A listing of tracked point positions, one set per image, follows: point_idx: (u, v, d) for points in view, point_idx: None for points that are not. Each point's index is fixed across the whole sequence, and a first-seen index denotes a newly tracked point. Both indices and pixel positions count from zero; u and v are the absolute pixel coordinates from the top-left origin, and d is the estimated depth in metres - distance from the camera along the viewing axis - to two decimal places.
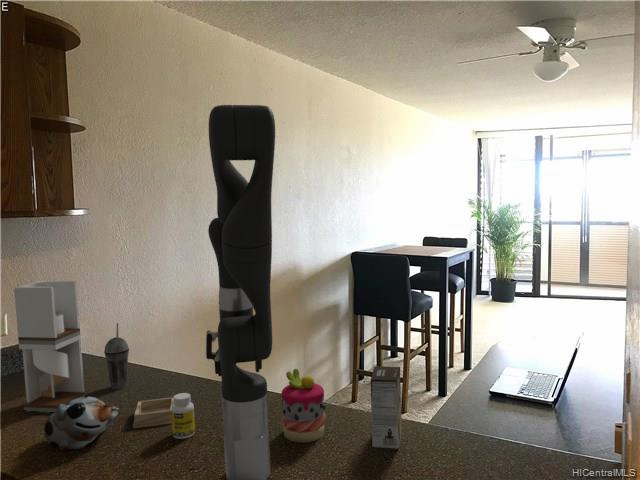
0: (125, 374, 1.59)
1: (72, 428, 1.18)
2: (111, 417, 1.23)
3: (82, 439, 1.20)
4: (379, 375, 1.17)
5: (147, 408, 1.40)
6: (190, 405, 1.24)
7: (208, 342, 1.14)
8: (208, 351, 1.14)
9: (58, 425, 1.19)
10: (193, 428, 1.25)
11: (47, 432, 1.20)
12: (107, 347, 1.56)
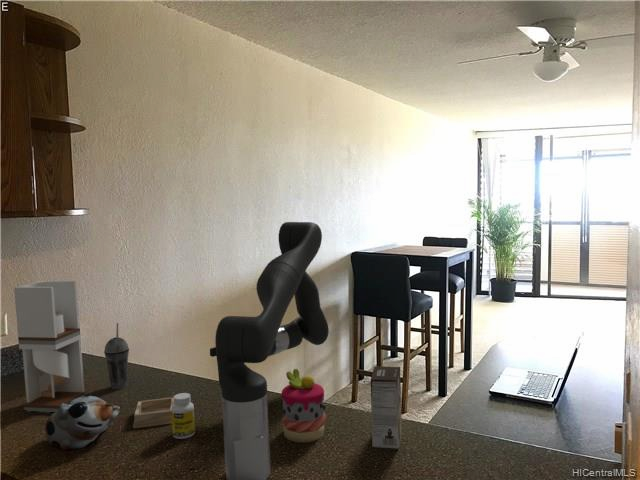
0: (125, 374, 1.59)
1: (74, 427, 1.18)
2: (112, 416, 1.23)
3: (84, 438, 1.20)
4: (379, 375, 1.17)
5: (147, 408, 1.40)
6: (190, 405, 1.24)
7: None
8: None
9: (60, 424, 1.19)
10: (193, 428, 1.25)
11: (48, 431, 1.20)
12: (107, 347, 1.56)
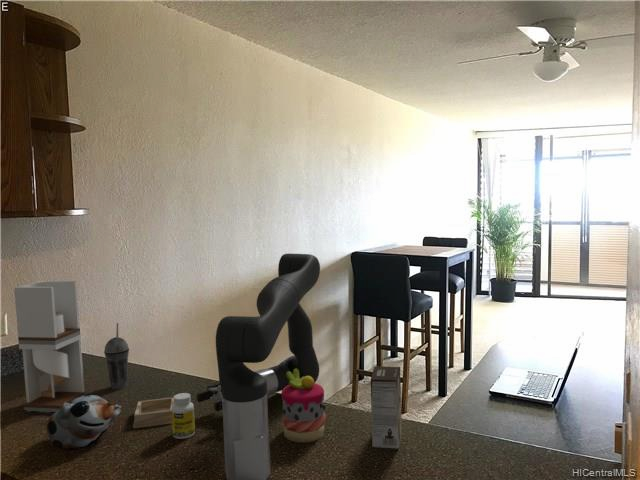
0: (125, 374, 1.59)
1: (76, 426, 1.19)
2: (114, 415, 1.24)
3: (86, 437, 1.21)
4: (379, 375, 1.17)
5: (147, 408, 1.40)
6: (190, 405, 1.24)
7: (220, 383, 1.40)
8: (213, 385, 1.39)
9: (62, 423, 1.19)
10: (193, 428, 1.25)
11: (50, 431, 1.21)
12: (107, 347, 1.56)
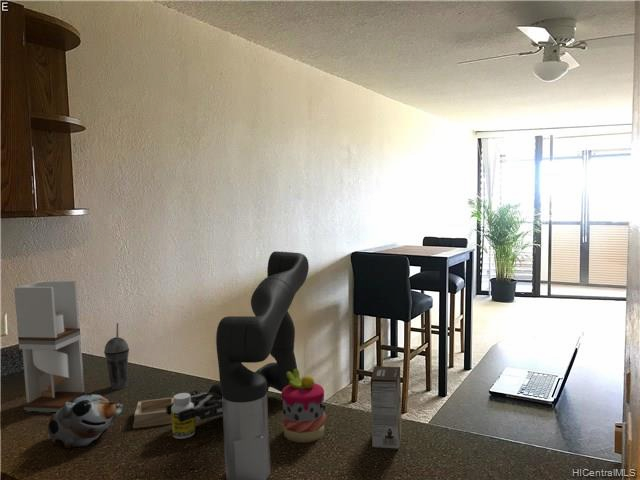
0: (125, 374, 1.59)
1: (78, 425, 1.19)
2: (116, 414, 1.25)
3: (88, 436, 1.21)
4: (379, 375, 1.17)
5: (147, 408, 1.40)
6: (190, 405, 1.24)
7: (190, 392, 1.33)
8: None
9: (63, 423, 1.20)
10: (193, 428, 1.25)
11: (52, 430, 1.21)
12: (107, 347, 1.56)
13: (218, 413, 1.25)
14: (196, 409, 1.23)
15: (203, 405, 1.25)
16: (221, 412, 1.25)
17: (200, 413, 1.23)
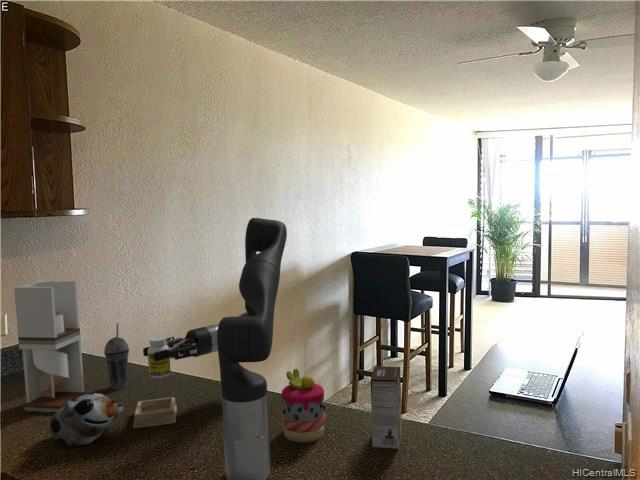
0: (125, 374, 1.59)
1: (81, 424, 1.20)
2: (117, 412, 1.26)
3: (90, 435, 1.22)
4: (379, 375, 1.17)
5: (147, 408, 1.40)
6: (165, 347, 1.33)
7: (167, 338, 1.42)
8: None
9: (66, 422, 1.20)
10: (168, 369, 1.34)
11: (54, 429, 1.21)
12: (107, 347, 1.56)
13: (191, 354, 1.33)
14: (170, 350, 1.32)
15: (177, 347, 1.34)
16: (194, 354, 1.33)
17: (173, 354, 1.31)
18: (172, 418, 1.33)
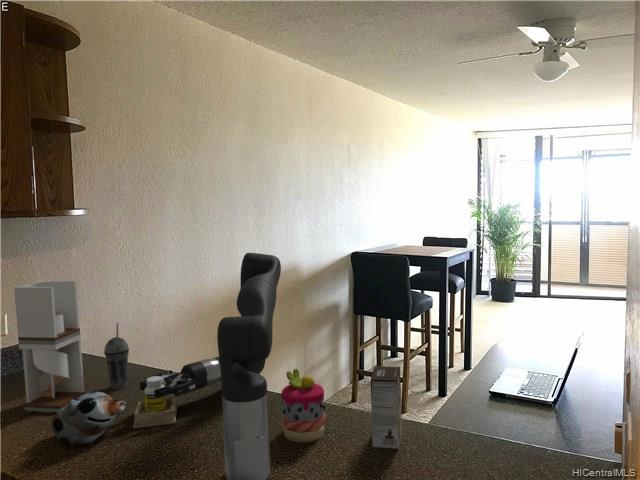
0: (125, 374, 1.59)
1: (84, 422, 1.21)
2: (120, 411, 1.26)
3: (93, 433, 1.23)
4: (379, 375, 1.17)
5: None
6: None
7: (165, 372, 1.45)
8: (158, 374, 1.43)
9: (68, 420, 1.21)
10: (164, 408, 1.36)
11: (56, 428, 1.22)
12: (107, 347, 1.56)
13: (190, 390, 1.36)
14: (171, 387, 1.33)
15: (176, 383, 1.36)
16: (193, 389, 1.36)
17: (174, 391, 1.33)
18: (172, 418, 1.33)
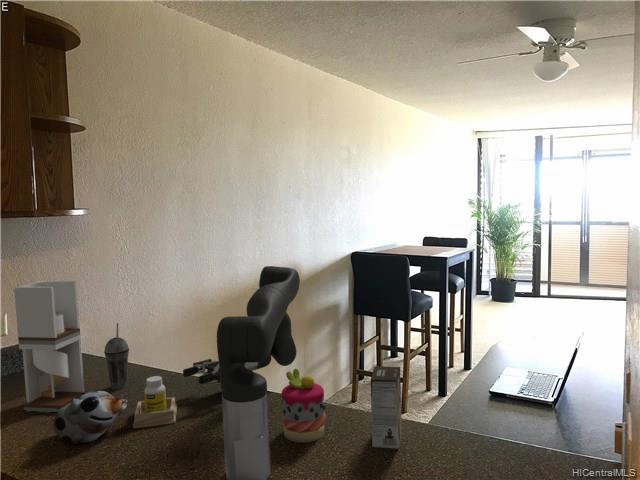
0: (125, 374, 1.59)
1: (86, 421, 1.21)
2: (121, 409, 1.27)
3: (95, 432, 1.23)
4: (379, 375, 1.17)
5: None
6: (161, 387, 1.35)
7: (205, 360, 1.54)
8: (198, 362, 1.52)
9: (71, 419, 1.22)
10: (164, 408, 1.36)
11: (58, 427, 1.22)
12: (107, 347, 1.56)
13: None
14: (214, 374, 1.42)
15: (218, 370, 1.45)
16: None
17: (217, 377, 1.42)
18: (172, 418, 1.33)
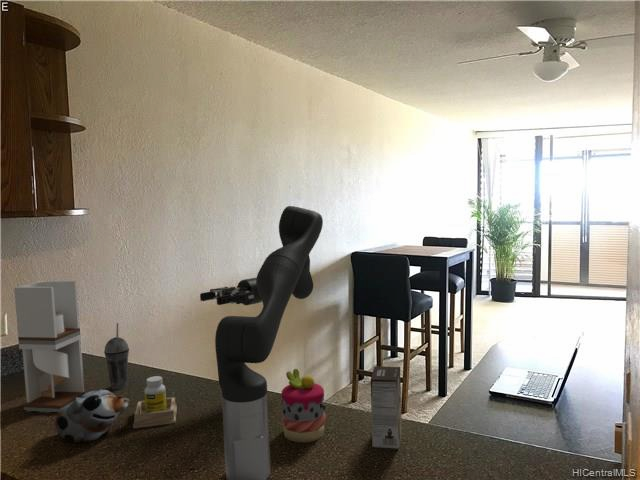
0: (125, 374, 1.59)
1: (89, 419, 1.22)
2: (123, 408, 1.28)
3: (97, 430, 1.24)
4: (379, 375, 1.17)
5: None
6: (162, 387, 1.35)
7: None
8: None
9: (73, 418, 1.22)
10: (164, 408, 1.36)
11: (60, 426, 1.23)
12: (107, 347, 1.56)
13: (250, 299, 1.42)
14: (232, 295, 1.39)
15: (236, 293, 1.42)
16: (252, 299, 1.42)
17: (235, 299, 1.39)
18: (172, 418, 1.33)
